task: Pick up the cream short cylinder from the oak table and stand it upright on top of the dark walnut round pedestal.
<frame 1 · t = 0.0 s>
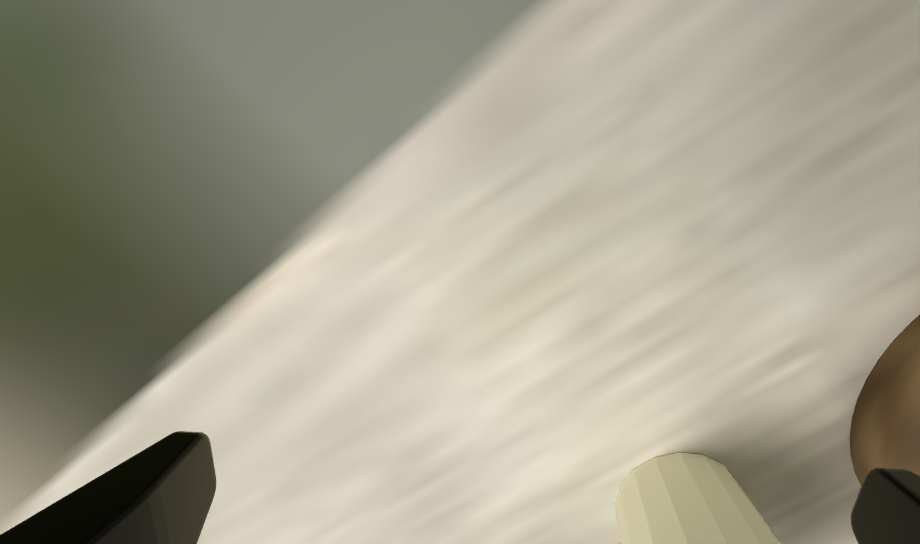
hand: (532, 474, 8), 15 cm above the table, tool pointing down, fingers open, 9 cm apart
cream short cylinder: (674, 497, 27), on the table
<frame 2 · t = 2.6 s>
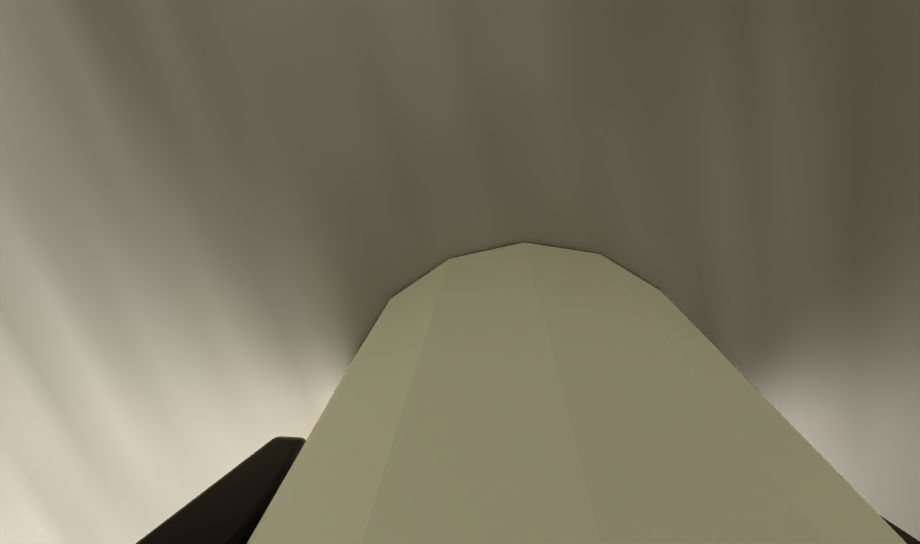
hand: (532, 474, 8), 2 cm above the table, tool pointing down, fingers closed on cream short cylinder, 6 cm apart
cream short cylinder: (523, 399, 10), on the table, touching gripper
when the fingers open (6 cm above the table, at t = 6.6 s): cream short cylinder drops 1 cm, resting on walnut pedestal.
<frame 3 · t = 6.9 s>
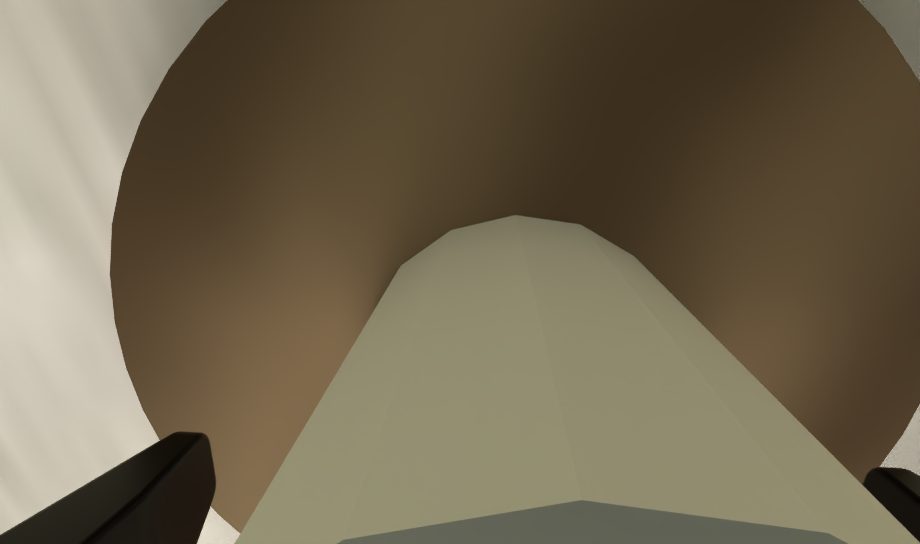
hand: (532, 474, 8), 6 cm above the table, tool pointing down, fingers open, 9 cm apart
walnut pedestal: (512, 289, 13), on the table
cream short cylinder: (517, 355, 11), point 3 cm above the table, touching walnut pedestal
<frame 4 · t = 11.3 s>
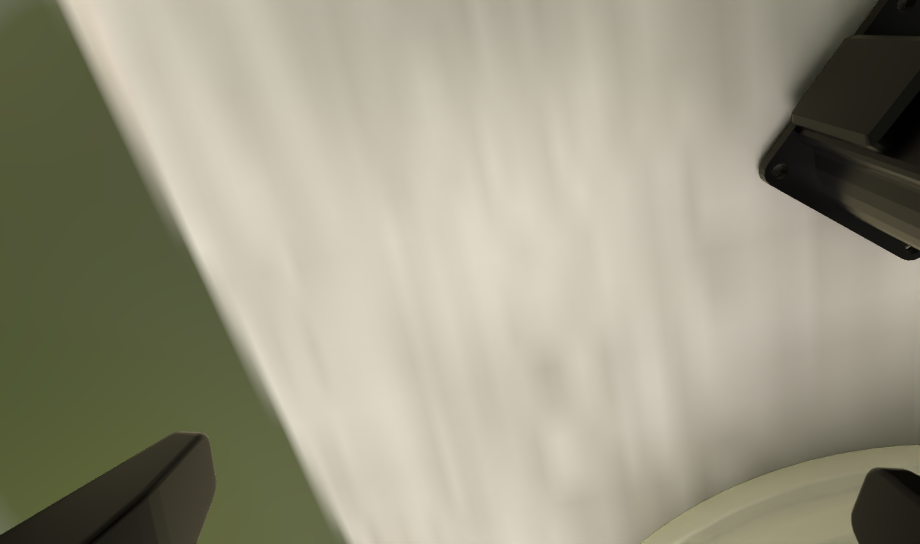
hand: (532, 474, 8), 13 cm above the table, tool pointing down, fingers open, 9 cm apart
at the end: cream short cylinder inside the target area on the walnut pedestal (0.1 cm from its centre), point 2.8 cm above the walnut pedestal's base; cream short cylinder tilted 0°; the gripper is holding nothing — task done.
